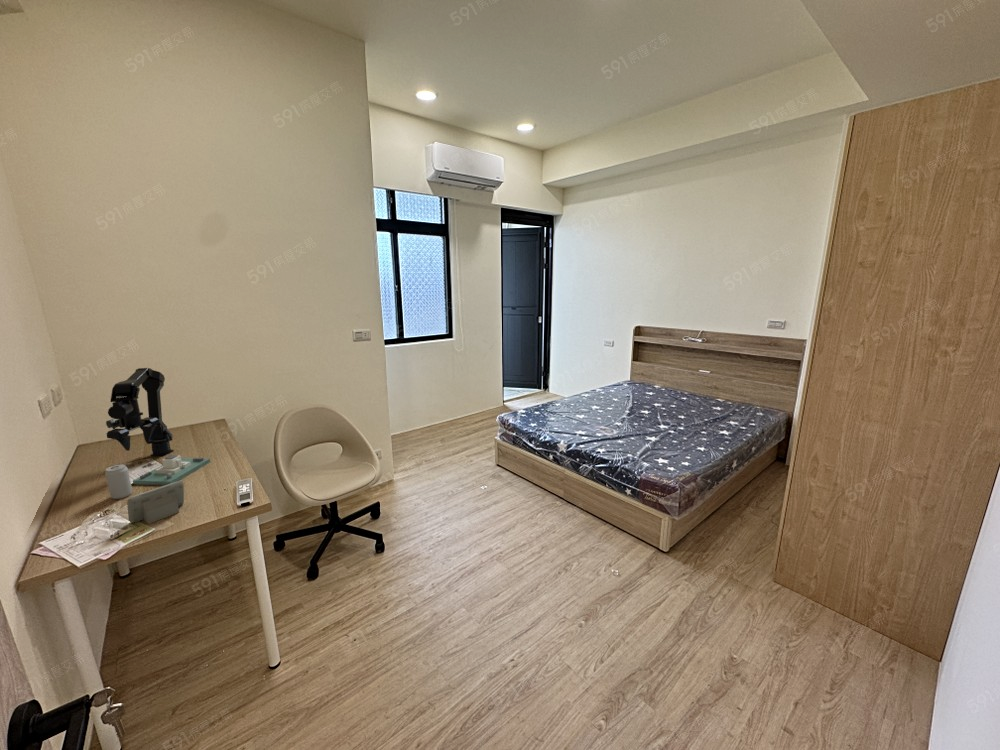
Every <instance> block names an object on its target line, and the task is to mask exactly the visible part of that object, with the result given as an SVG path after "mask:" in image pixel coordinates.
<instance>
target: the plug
mask: <svg viewBox="0 0 1000 750" xmlns="http://www.w3.org/2000/svg"><path fill="white" fill-rule="evenodd" d="M181 458H182V456H181V455H179V454H178V455H177V454H175V455H174V454H173V455H172V454H170V455H168V456H167V457H164V458H163V459H161V462H162V465H163V467H164V469H176V468H178V467H180V469H182V468H183V466H182V460H181Z"/></svg>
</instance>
